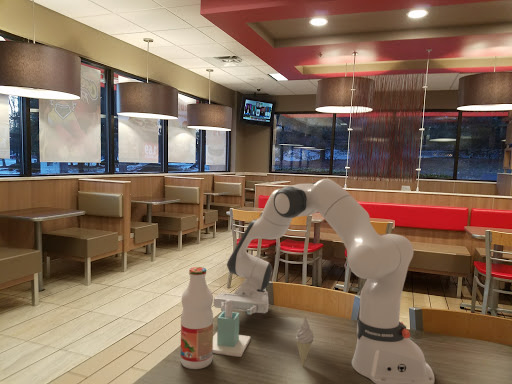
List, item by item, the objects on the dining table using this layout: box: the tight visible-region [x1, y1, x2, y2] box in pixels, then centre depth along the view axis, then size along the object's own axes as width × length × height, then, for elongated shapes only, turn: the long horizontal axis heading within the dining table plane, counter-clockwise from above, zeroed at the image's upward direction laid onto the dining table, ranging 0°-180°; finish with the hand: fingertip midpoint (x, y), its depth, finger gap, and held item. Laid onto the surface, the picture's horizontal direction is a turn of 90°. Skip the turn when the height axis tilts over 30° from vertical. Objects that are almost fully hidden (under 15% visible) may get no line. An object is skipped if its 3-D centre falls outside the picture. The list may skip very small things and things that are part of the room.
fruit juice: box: [180, 266, 214, 370], centre depth 111 cm, size 9×9×28 cm
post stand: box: [213, 299, 251, 358], centre depth 121 cm, size 12×12×15 cm
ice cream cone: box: [295, 316, 314, 367], centre depth 110 cm, size 5×5×15 cm
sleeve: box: [216, 311, 240, 347], centre depth 122 cm, size 6×6×9 cm
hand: (235, 310), depth 131 cm, fingers open, 8 cm apart
